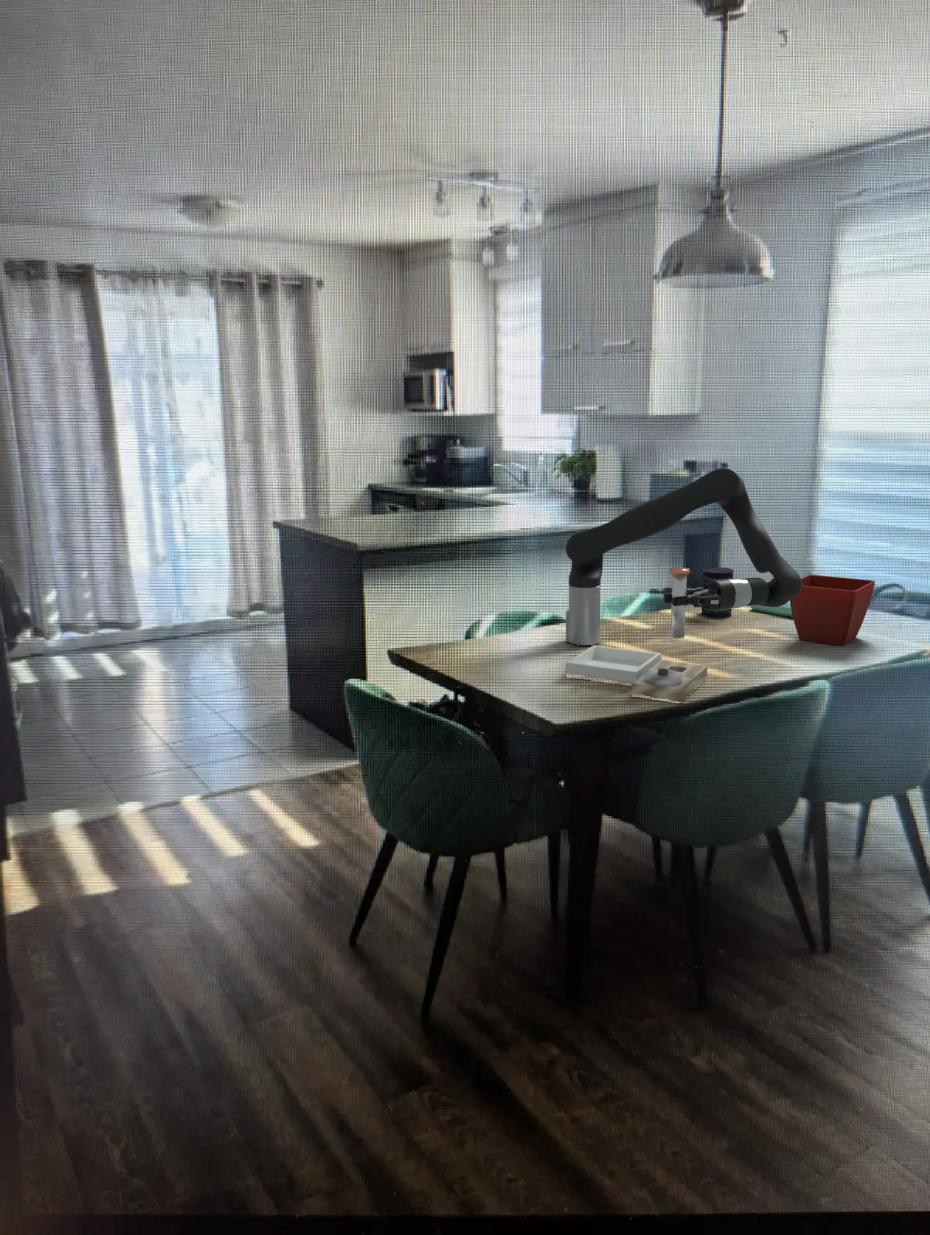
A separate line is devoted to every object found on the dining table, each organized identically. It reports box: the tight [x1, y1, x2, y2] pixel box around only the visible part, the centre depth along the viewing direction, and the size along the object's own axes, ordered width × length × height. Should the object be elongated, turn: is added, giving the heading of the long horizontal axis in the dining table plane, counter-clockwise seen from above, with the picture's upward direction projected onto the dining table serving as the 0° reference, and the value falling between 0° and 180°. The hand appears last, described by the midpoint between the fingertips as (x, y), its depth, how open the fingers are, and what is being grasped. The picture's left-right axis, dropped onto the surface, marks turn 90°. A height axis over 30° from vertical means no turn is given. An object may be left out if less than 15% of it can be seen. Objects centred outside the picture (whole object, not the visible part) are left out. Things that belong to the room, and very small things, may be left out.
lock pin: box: [669, 566, 691, 639], centre depth 225 cm, size 5×5×17 cm
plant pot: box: [790, 574, 876, 646], centre depth 266 cm, size 19×19×17 cm
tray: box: [565, 644, 662, 684], centre depth 238 cm, size 19×19×4 cm
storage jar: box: [700, 566, 735, 619], centre depth 298 cm, size 10×10×15 cm
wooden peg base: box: [630, 659, 708, 702], centre depth 224 cm, size 12×22×6 cm, turn 150°
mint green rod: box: [749, 601, 793, 618], centre depth 296 cm, size 6×6×25 cm
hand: (668, 600), depth 224 cm, fingers closed on lock pin, 3 cm apart
